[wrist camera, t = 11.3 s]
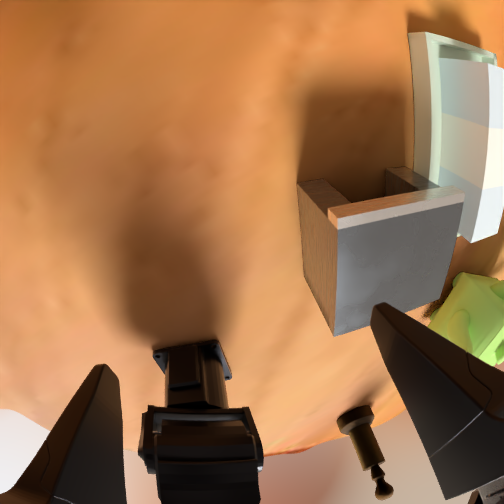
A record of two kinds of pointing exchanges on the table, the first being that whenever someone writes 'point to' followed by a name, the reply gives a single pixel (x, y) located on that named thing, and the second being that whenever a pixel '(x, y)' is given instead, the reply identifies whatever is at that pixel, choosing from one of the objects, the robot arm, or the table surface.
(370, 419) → the dark turned peg
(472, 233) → the white square column
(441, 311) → the kettle
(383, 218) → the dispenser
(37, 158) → the table surface
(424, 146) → the dish
